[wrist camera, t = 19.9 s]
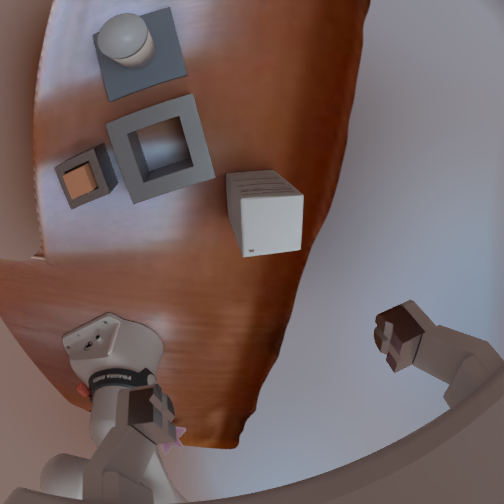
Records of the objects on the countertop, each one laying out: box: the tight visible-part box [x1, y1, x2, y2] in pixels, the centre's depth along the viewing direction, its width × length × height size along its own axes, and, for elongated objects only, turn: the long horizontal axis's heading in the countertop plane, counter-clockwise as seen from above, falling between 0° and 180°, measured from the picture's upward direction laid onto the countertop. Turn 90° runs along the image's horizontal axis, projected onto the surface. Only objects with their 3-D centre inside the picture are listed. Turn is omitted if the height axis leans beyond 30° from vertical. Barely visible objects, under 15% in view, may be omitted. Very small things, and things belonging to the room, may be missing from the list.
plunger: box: [63, 161, 98, 199], centre depth 33 cm, size 3×3×6 cm
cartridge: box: [97, 13, 156, 70], centre depth 24 cm, size 5×5×11 cm
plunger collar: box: [54, 143, 118, 209], centre depth 34 cm, size 6×6×5 cm
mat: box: [93, 7, 187, 102], centre depth 29 cm, size 11×11×1 cm
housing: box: [105, 93, 216, 204], centre depth 34 cm, size 11×11×6 cm
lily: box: [160, 426, 186, 455], centre depth 68 cm, size 12×12×10 cm
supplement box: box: [226, 170, 304, 257], centre depth 38 cm, size 7×7×13 cm
